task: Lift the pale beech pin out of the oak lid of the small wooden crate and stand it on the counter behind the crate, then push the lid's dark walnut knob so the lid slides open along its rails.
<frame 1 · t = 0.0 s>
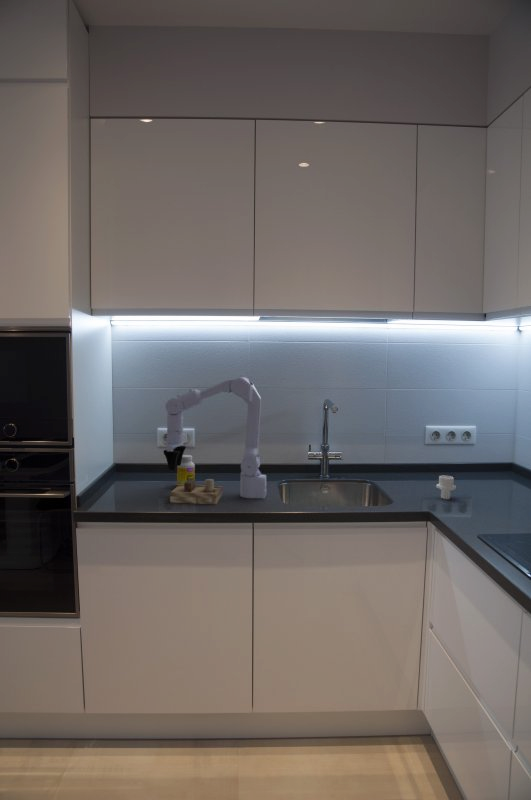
hand: (174, 467, 200), 10 cm above the table, tool pointing down, fingers open, 7 cm apart
lid: (196, 487, 192), point 5 cm above the table, slide at 0.0 cm
wooden crate: (196, 501, 192), on the table
pipe fitting: (445, 498, 205), on the table
pin: (209, 499, 192), point 1 cm above the table, touching wooden crate
supplement bottle: (185, 489, 210), on the table
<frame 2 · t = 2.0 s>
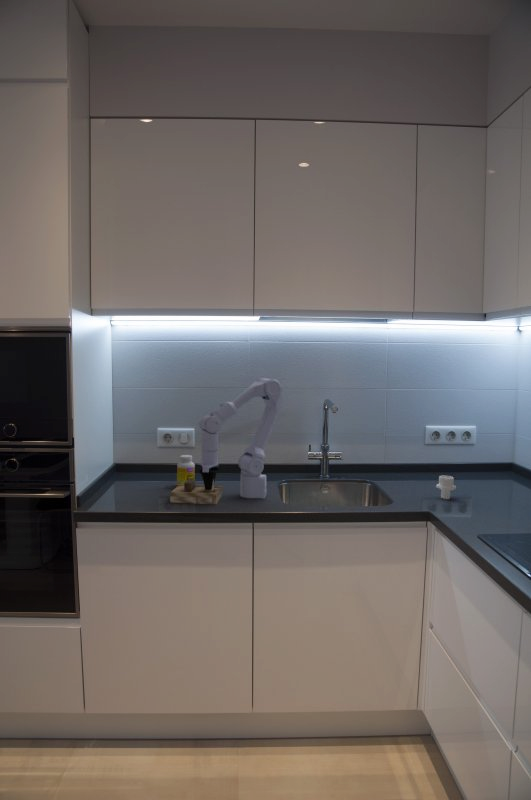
hand: (209, 488, 191), 5 cm above the table, tool pointing down, fingers closed on pin, 3 cm apart
pin: (209, 499, 192), point 1 cm above the table, touching gripper, wooden crate
everything else where it was.
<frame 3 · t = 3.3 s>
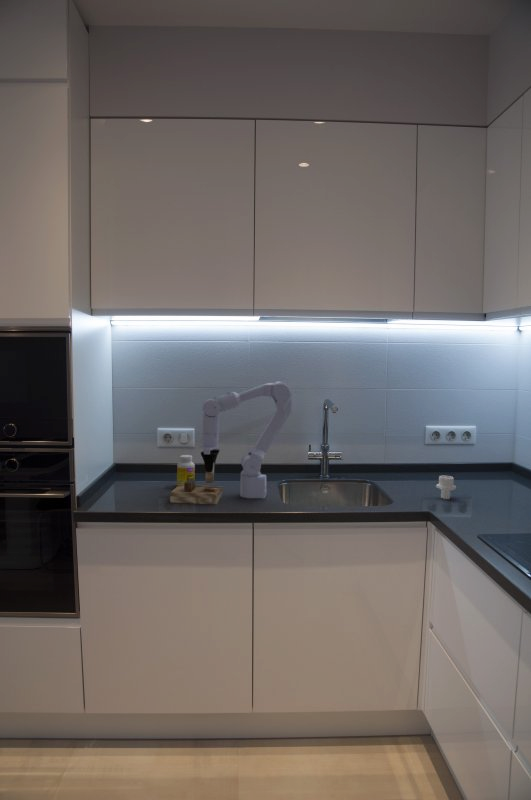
hand: (209, 470, 196), 10 cm above the table, tool pointing down, fingers closed on pin, 3 cm apart
pin: (209, 481, 196), point 6 cm above the table, touching gripper
everything else where it was.
when the fingers open (5 cm above the table, at t = 4.9 s): pin drops 1 cm, on the table.
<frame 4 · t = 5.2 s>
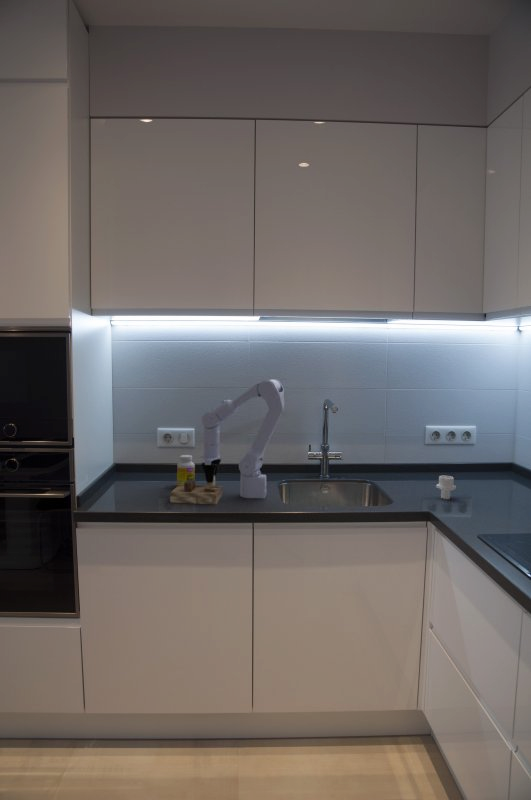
hand: (211, 480, 202), 5 cm above the table, tool pointing down, fingers open, 5 cm apart
pin: (210, 494, 203), on the table
everything else where it was.
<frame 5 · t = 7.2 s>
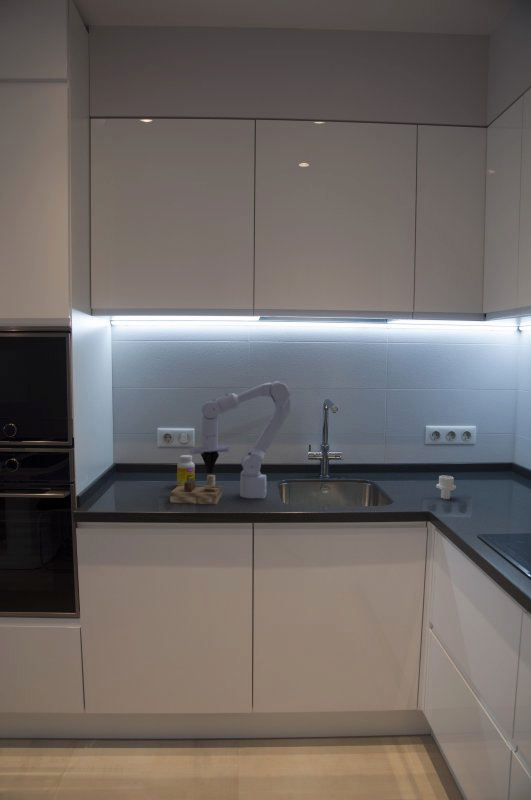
hand: (209, 472, 196), 9 cm above the table, tool pointing down, fingers closed
nothing on the table moved.
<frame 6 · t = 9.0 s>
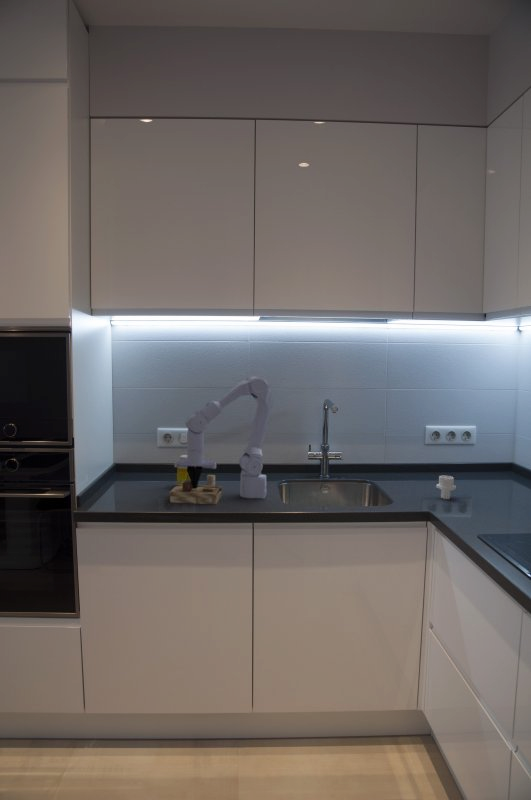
hand: (195, 487, 192), 5 cm above the table, tool pointing down, fingers closed
lid: (195, 487, 192), point 5 cm above the table, slide at 0.6 cm, touching gripper
everything else where it was.
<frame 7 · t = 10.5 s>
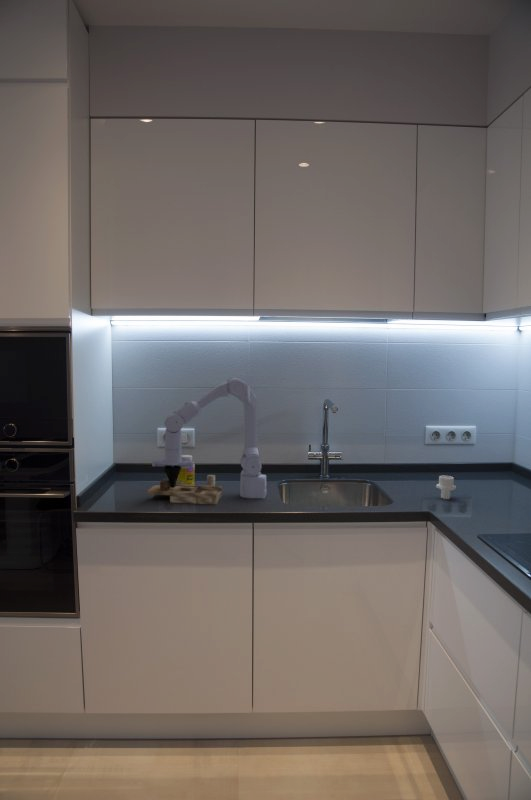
hand: (172, 487, 193), 5 cm above the table, tool pointing down, fingers closed
lid: (172, 486, 193), point 5 cm above the table, slide at 8.5 cm, touching gripper
everything else where it was.
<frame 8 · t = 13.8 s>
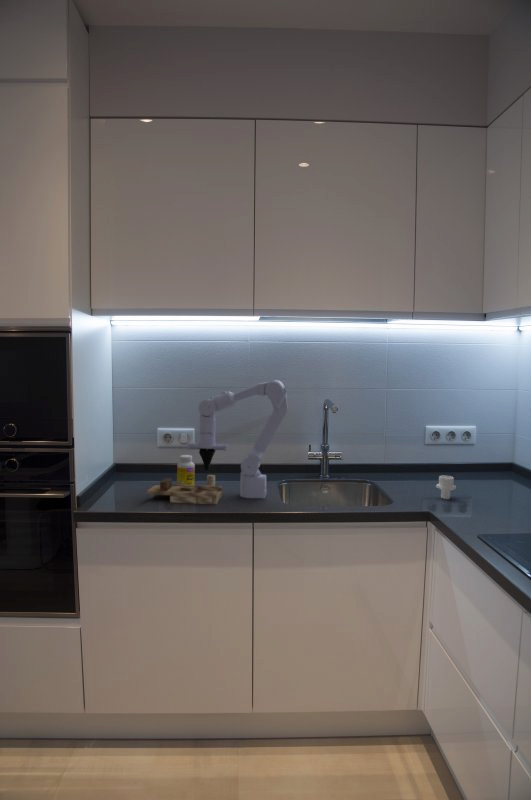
hand: (207, 469, 199), 10 cm above the table, tool pointing down, fingers closed
lid: (172, 486, 193), point 5 cm above the table, slide at 8.5 cm
everything else where it was.
at the end: lid slide at 8.5 cm; pin inside the target area (0.5 cm from its centre), on the table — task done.
